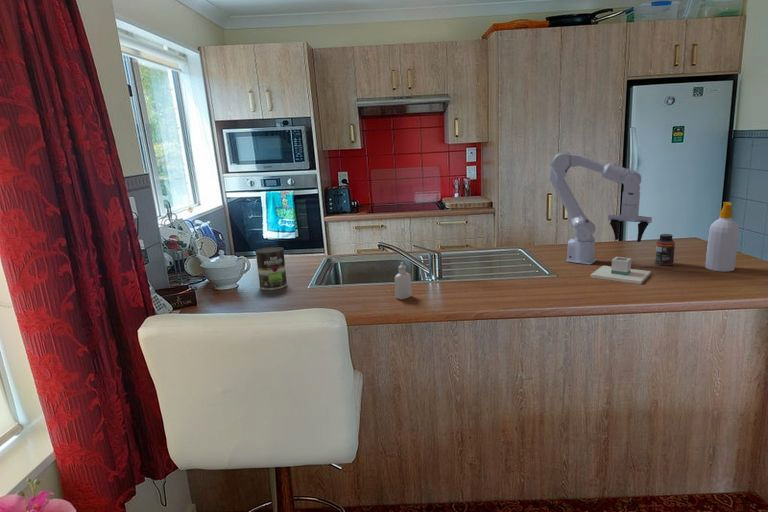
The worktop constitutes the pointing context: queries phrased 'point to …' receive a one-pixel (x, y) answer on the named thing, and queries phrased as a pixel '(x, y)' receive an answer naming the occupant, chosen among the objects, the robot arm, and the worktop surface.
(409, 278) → the eye dropper bottle
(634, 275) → the pin board
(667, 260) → the supplement bottle
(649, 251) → the worktop surface
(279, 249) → the coffee can
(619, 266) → the sleeve
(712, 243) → the soap bottle
